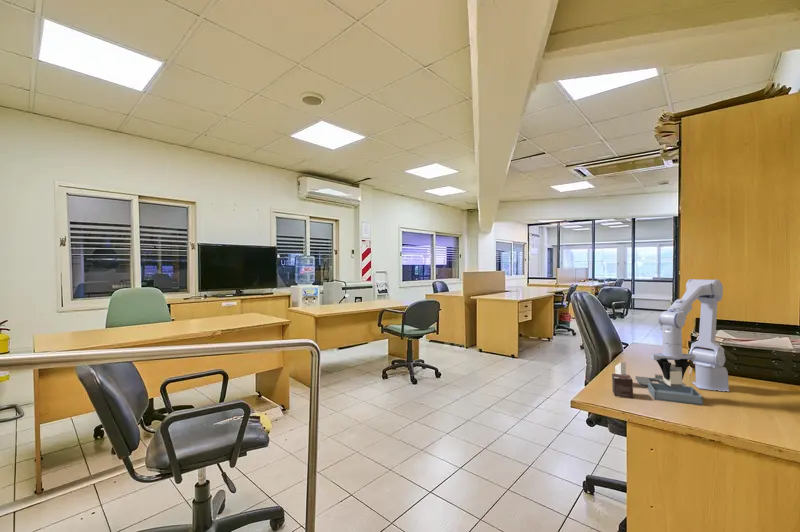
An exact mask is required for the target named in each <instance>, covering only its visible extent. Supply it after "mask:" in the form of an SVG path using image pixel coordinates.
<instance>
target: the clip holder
mask: <svg viewBox="0 0 800 532" xmlns="http://www.w3.org/2000/svg"><path fill="white" fill-rule="evenodd" d="M635 380H636V382H637V383H638V385H639V386H640V387H642V388H648V382H650V383H653V382H658V383H659V384H664V377H663V374H658V373H655V374H654V377H646V376H639V375H638V376H635ZM682 386H687V385H686V384H685V383H684V382H683V381H682Z"/></svg>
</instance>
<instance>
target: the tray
mask: <svg viewBox="0 0 800 532" xmlns="http://www.w3.org/2000/svg"><path fill="white" fill-rule="evenodd" d="M647 390H648V392H649V393H650V395H651V396H652V398H653V399H654V400H655V401H663V402H672V403H679V404H686V405H695V406H702V405H703V406H704V397H703V396H702V395H701V394H700V393H699V392H698V391H697V390H696V388H694V387H693V386H687V385H686V386H682V389H675V388H669V387H667V386H665V385H664V384H659V382H657V383H656V382H652V383H650V382H648V387H647Z"/></svg>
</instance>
